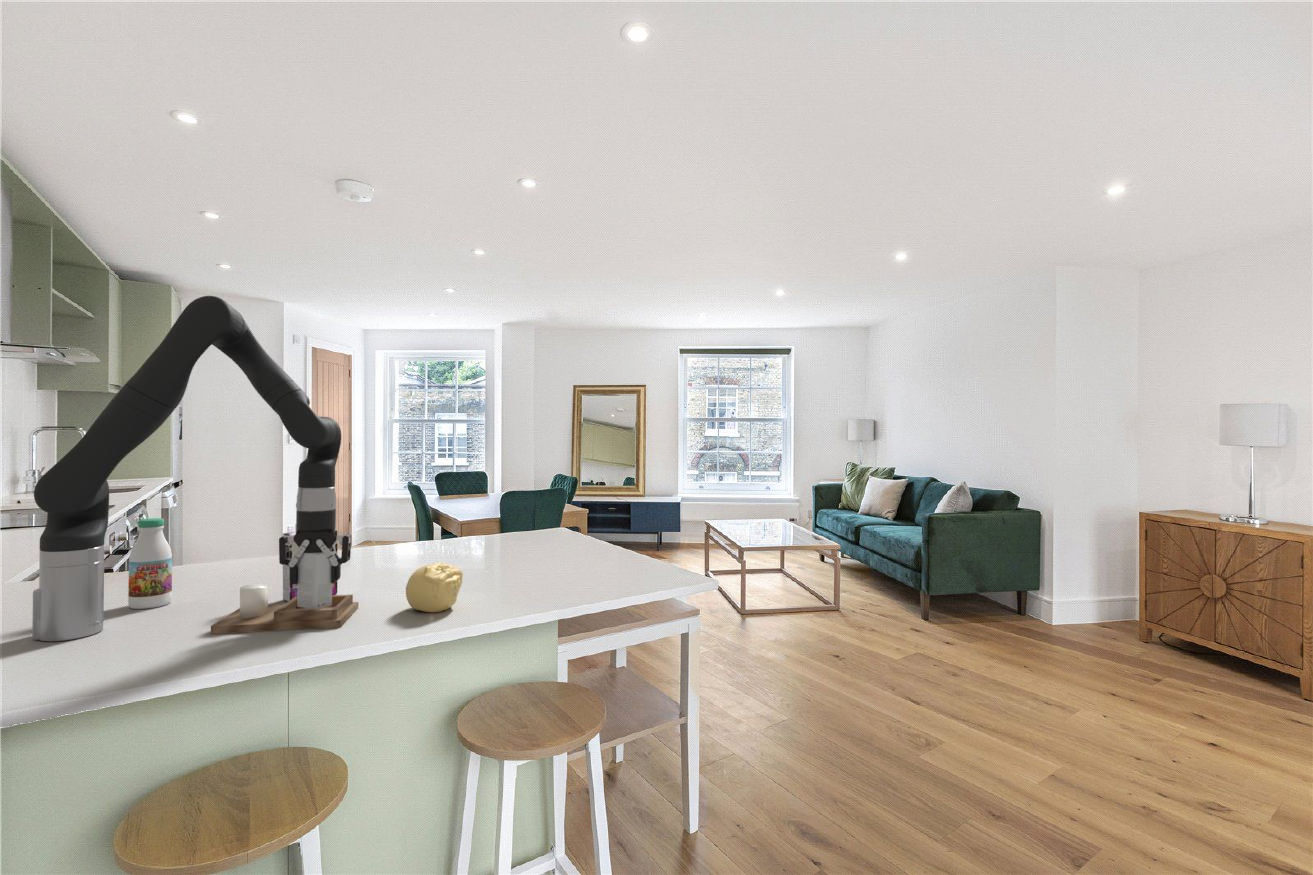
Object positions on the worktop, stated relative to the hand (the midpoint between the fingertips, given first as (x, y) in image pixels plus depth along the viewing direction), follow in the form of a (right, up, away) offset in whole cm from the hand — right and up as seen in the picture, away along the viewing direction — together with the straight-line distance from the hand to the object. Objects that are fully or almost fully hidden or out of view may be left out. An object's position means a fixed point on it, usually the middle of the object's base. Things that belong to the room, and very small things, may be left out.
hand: (315, 582), depth 131 cm
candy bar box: (-11, -8, +17) cm, 22 cm away
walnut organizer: (-5, -8, -1) cm, 9 cm away
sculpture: (+23, -9, +9) cm, 26 cm away
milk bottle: (-43, -7, +8) cm, 44 cm away
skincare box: (0, -5, 0) cm, 5 cm away
